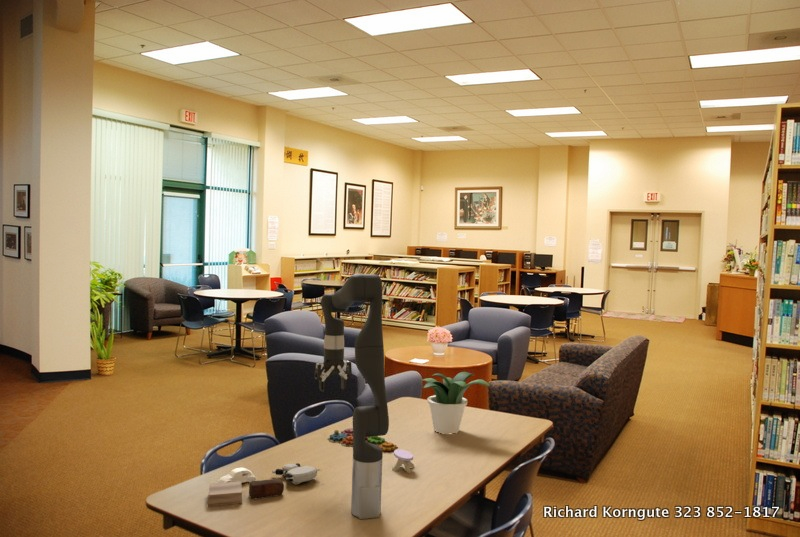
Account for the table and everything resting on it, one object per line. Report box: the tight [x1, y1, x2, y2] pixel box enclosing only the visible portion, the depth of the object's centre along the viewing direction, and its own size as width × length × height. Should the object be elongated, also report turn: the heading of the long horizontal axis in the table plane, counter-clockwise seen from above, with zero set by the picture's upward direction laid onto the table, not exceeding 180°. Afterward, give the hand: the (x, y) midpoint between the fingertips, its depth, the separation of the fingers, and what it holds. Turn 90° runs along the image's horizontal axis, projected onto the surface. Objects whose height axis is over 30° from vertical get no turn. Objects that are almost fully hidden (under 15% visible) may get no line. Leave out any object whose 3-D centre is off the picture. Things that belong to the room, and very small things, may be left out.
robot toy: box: [271, 462, 322, 485], centre depth 213 cm, size 12×4×15 cm
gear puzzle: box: [327, 427, 398, 452], centre depth 252 cm, size 31×16×4 cm, turn 54°
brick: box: [248, 478, 285, 500], centre depth 198 cm, size 11×4×5 cm, turn 117°
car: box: [216, 467, 257, 484], centre depth 208 cm, size 12×6×5 cm, turn 128°
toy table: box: [391, 448, 415, 473], centre depth 226 cm, size 10×9×6 cm
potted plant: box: [421, 371, 491, 435], centre depth 273 cm, size 32×35×26 cm
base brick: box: [207, 481, 243, 507], centre depth 194 cm, size 9×10×4 cm
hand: (332, 390), depth 226 cm, fingers open, 8 cm apart
